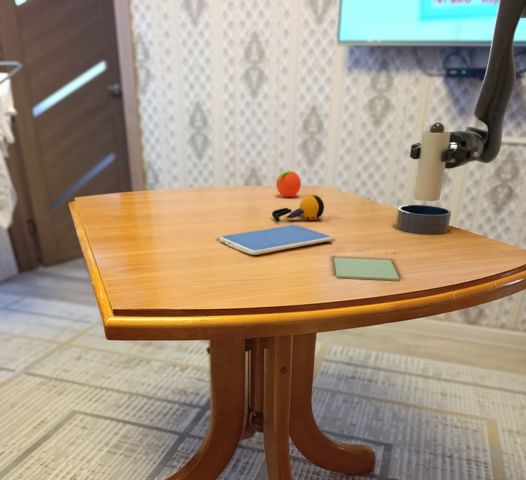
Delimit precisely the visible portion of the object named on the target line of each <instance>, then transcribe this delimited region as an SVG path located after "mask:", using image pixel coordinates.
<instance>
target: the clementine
mask: <svg viewBox="0 0 526 480" xmlns="http://www.w3.org/2000/svg"><path fill="white" fill-rule="evenodd" d="M275 185H276V190H277V192H278V194H280V195H281V196H282V197H285V198H291V197H294V196H296V195H297V194H298V193H299V192H300V190H301V186H302V180H301V178H300V176H299V175H298V173H296V172H294V171H291V170H287V171H284V172H282V173H280V174H279V175H278V177H277V179H276V184H275Z"/></svg>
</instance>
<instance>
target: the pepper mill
mask: <svg viewBox="0 0 526 480" xmlns="http://www.w3.org/2000/svg"><path fill="white" fill-rule="evenodd" d="M450 132H451V131H445V126H444V124H443V123H442V122H434V123H433V124H432V125H431V126H430V128H429V131H428V130H427V131H426V130H425V131H422V134H421V140H420V142H421V143H420V144H421V148H420V155H419V159H418V162H417V169H416V177H415V183H414V191H413V196H412V198H413V199H414V200H418V201H423V202H435V201H440V199H441V194H442V189H443V182H444V175H445V170H446V168H445V164H446V162H441V157H442V152H443V150H445V149H448V146H449V140H450V134H451V133H450Z"/></svg>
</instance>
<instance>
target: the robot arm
mask: <svg viewBox="0 0 526 480" xmlns="http://www.w3.org/2000/svg"><path fill="white" fill-rule="evenodd" d="M495 16H496V17H495V21H494V27H493V32H492V38H491V44H490V50H489V56H488V61H487V66H486V69H485V74H484V78H483V81H482V84H481V87H480V90H479V94H478V97H477V100H476V102H475V106H474V108H473V109H474V110H473V117H474V118H476V119H477V120H478V121H480V122H482V123H483V124H484V125H485V126H486V128H487V130H485V129H483V128H482V129H481V128H479V127H474V126H466V127H464V128H463V129H462V130H456V131H449V132H450V133H451V134H450V140H449V146H448V149H445V150H443V152H442V157H441V162H446V164H445V170H446V169H451V170H452V169H454V168H459V167H462V166H466V165H467V164H468V163H471V162H475V161H476V162H479V163H482V164H489V163H491V162H493V161H495V160H496V158H497V157H498V155H499V154H500V152H501V148H502V141H503V129H504V128H503V127H504V121H505V116H506V112H507V109H508V108H509V104H510V101H511V98H512V96H513V93H514V90H515V86H516V82H517V81H516V79H517V71H516V64H515V63H516V61H515V56H514V40H515V34H516V31H517V27H518V25H519V22H520V20H521V19H526V0H499V1H498V4H497V11H496V15H495ZM420 148H421V143H420V142H416V143H413V144H411V146H410V151H409V153H410V154H409V158H411V159H412V160H419V155H420Z"/></svg>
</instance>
